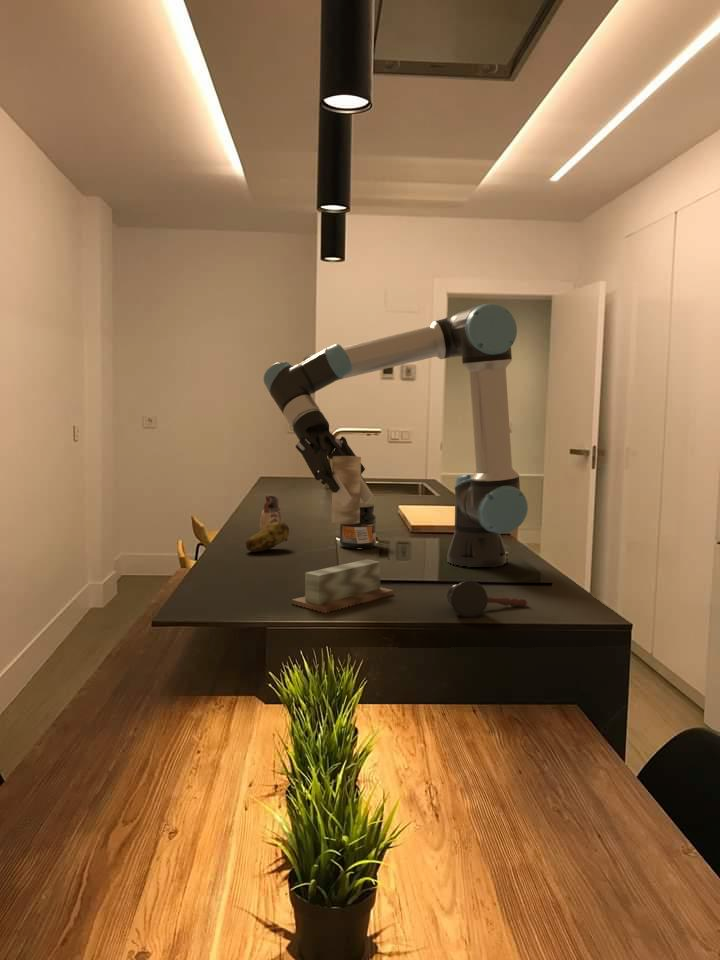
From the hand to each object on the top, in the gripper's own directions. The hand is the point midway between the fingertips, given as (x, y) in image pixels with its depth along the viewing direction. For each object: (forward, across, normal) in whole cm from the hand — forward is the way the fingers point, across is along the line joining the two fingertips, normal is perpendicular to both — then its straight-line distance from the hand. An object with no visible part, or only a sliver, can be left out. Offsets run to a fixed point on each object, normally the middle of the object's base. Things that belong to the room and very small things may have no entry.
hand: (358, 501), depth 177 cm
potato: (-24, -22, -54) cm, 63 cm away
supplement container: (-14, -44, -45) cm, 64 cm away
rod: (+1, 0, -6) cm, 6 cm away
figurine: (-39, -42, -70) cm, 90 cm away
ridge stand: (+14, +2, -16) cm, 21 cm away
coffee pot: (+33, -12, +3) cm, 36 cm away
